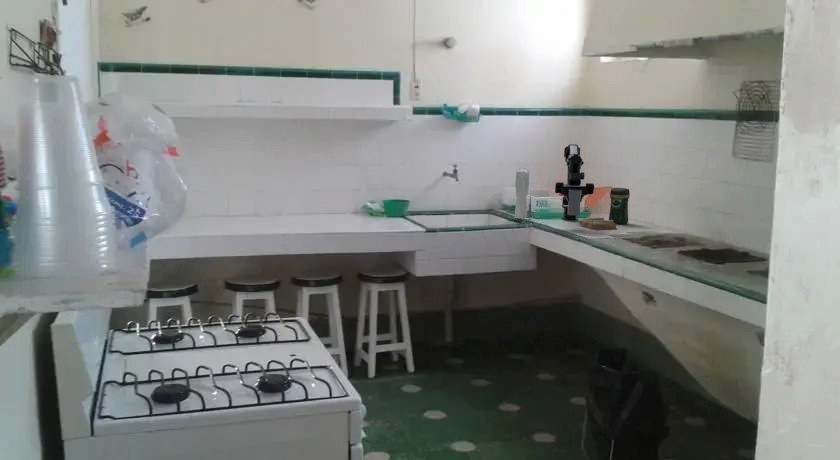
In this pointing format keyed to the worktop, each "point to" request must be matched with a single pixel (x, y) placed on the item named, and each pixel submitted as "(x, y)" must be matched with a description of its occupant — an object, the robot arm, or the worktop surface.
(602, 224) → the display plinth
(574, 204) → the tall grey pillar block
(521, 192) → the white waisted cylinder
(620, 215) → the coffee jar
